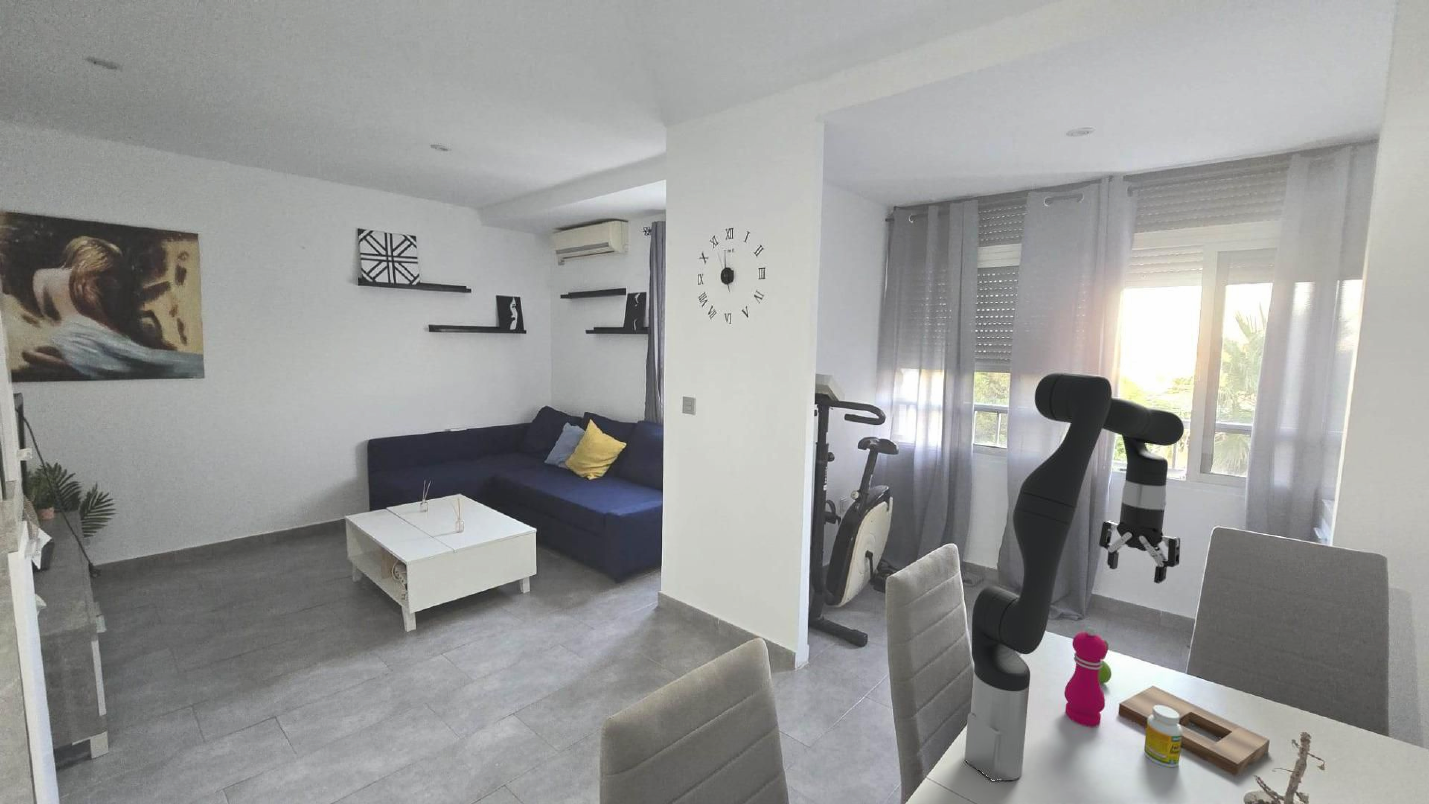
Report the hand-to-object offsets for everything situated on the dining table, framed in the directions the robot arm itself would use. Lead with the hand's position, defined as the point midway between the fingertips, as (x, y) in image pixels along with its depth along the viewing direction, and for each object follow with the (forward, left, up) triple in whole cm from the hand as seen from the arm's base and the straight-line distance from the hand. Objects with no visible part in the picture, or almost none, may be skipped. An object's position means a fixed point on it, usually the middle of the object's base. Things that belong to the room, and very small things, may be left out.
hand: (1135, 575), depth 127 cm
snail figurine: (+1, +6, -29) cm, 29 cm away
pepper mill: (-15, 0, -29) cm, 33 cm away
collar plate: (0, -13, -29) cm, 31 cm away
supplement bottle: (-14, -14, -29) cm, 35 cm away
